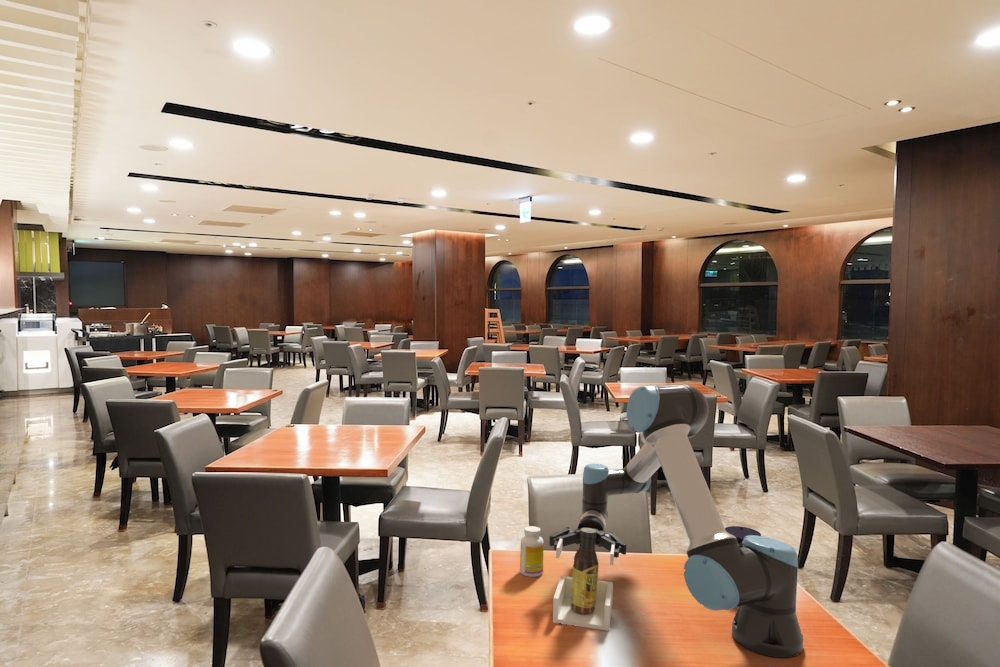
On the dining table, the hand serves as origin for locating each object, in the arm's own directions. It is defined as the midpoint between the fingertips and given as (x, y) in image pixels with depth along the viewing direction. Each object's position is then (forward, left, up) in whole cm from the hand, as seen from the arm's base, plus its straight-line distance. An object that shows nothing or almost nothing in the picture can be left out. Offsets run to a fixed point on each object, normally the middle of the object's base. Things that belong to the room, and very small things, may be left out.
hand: (584, 556), depth 151 cm
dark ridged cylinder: (-10, -49, -14) cm, 52 cm away
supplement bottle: (+24, -1, -14) cm, 28 cm away
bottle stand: (-2, +1, -14) cm, 14 cm away
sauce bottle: (-2, +1, -13) cm, 13 cm away
